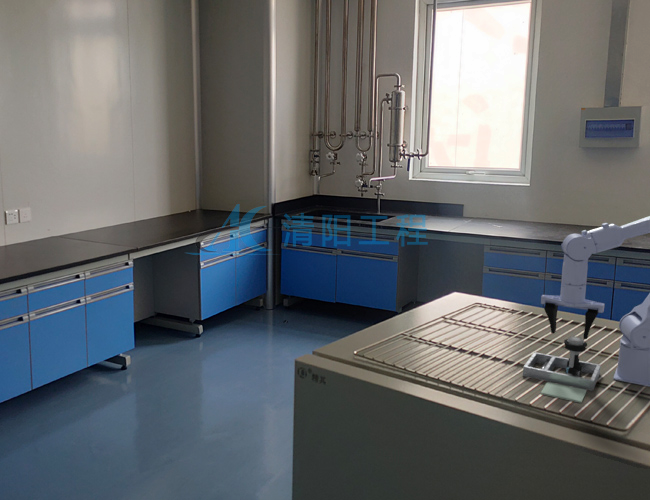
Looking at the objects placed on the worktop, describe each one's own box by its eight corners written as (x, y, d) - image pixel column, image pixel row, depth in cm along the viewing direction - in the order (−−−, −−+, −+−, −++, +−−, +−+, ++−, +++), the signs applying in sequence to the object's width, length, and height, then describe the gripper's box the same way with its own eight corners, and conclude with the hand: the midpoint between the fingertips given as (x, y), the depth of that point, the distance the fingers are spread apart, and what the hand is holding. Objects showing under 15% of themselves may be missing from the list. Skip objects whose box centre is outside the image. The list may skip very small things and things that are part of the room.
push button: (577, 384, 148) (580, 345, 145) (555, 378, 151) (558, 340, 149) (587, 376, 152) (590, 338, 150) (566, 370, 156) (569, 333, 154)
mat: (586, 391, 144) (586, 390, 143) (581, 403, 138) (581, 401, 138) (547, 383, 148) (547, 381, 148) (540, 393, 142) (540, 392, 142)
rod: (543, 365, 159) (549, 368, 158) (536, 376, 152) (542, 379, 152) (545, 360, 158) (551, 363, 158) (538, 370, 152) (544, 373, 151)
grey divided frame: (599, 374, 154) (600, 364, 153) (592, 390, 144) (593, 381, 143) (533, 360, 162) (534, 352, 161) (522, 376, 152) (523, 366, 152)
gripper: (539, 282, 149) (535, 334, 152) (602, 290, 142) (597, 345, 145) (546, 276, 155) (542, 326, 158) (607, 284, 148) (602, 336, 150)
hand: (569, 335), depth 152 cm, fingers open, 7 cm apart
